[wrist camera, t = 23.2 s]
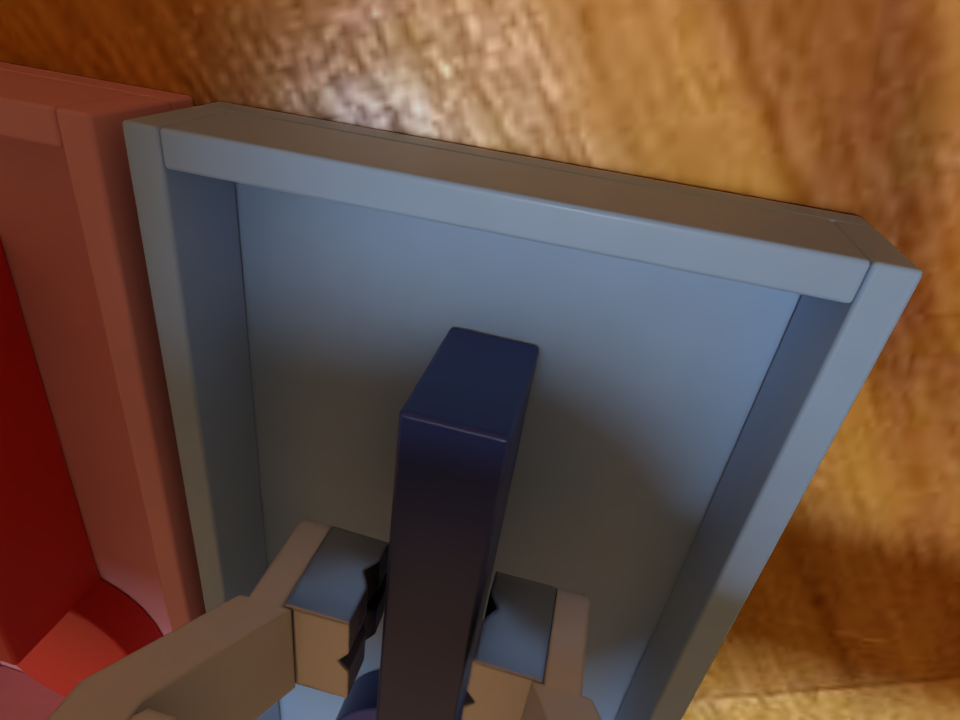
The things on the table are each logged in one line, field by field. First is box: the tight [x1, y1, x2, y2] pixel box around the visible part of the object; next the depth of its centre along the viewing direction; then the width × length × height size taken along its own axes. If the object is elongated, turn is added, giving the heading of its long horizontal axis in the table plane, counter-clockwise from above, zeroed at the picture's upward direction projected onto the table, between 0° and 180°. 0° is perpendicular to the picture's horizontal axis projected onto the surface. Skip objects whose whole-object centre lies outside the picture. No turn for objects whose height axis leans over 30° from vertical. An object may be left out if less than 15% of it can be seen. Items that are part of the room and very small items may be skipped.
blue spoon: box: [336, 328, 539, 720], centre depth 11 cm, size 13×4×2 cm, turn 172°
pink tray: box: [0, 62, 206, 720], centre depth 13 cm, size 9×18×2 cm, turn 173°
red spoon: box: [0, 238, 162, 697], centre depth 13 cm, size 13×4×2 cm, turn 172°
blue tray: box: [122, 101, 922, 720], centre depth 12 cm, size 9×18×2 cm, turn 173°
